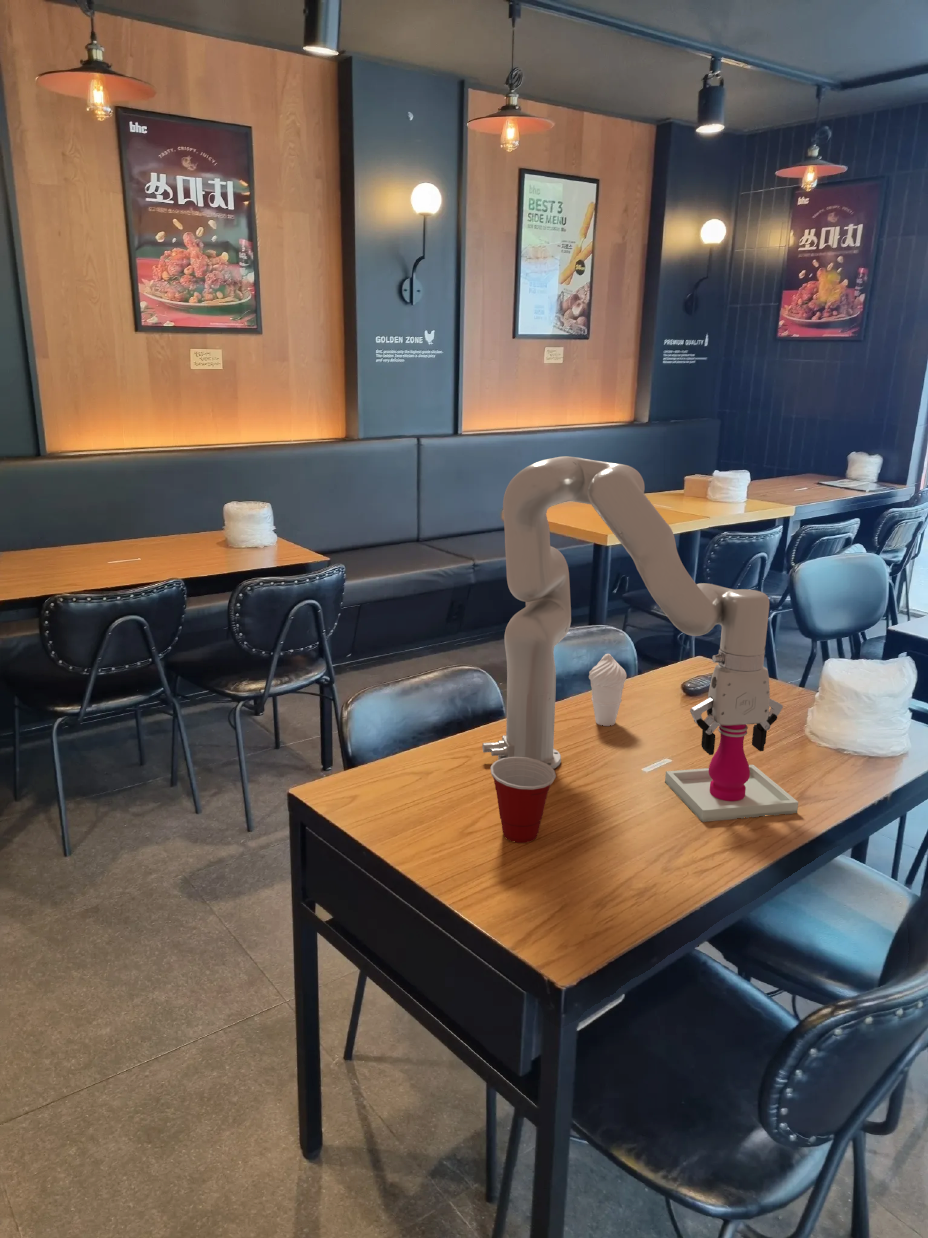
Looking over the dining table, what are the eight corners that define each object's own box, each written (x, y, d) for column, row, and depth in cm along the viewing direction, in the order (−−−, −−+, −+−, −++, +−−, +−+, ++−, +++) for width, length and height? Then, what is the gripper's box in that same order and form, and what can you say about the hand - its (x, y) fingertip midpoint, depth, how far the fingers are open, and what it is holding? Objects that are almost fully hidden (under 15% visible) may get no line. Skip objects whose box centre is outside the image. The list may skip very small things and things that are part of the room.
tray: (702, 822, 151) (703, 810, 151) (665, 782, 167) (665, 771, 166) (797, 813, 155) (798, 802, 154) (752, 775, 170) (753, 764, 169)
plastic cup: (535, 858, 139) (537, 789, 136) (477, 840, 145) (477, 773, 142) (564, 830, 148) (567, 765, 145) (508, 814, 154) (510, 750, 151)
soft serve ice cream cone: (626, 730, 192) (630, 660, 188) (588, 729, 192) (592, 660, 188) (620, 716, 200) (624, 649, 196) (584, 715, 200) (587, 648, 196)
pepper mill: (752, 803, 157) (763, 698, 152) (712, 802, 157) (721, 697, 152) (741, 785, 164) (750, 684, 159) (702, 785, 164) (710, 684, 159)
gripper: (704, 669, 149) (697, 762, 153) (797, 664, 152) (787, 755, 156) (686, 656, 156) (679, 745, 160) (775, 651, 159) (766, 739, 163)
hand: (732, 750), depth 158 cm, fingers open, 9 cm apart
